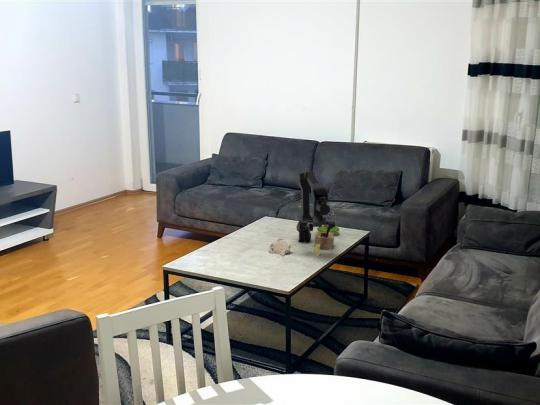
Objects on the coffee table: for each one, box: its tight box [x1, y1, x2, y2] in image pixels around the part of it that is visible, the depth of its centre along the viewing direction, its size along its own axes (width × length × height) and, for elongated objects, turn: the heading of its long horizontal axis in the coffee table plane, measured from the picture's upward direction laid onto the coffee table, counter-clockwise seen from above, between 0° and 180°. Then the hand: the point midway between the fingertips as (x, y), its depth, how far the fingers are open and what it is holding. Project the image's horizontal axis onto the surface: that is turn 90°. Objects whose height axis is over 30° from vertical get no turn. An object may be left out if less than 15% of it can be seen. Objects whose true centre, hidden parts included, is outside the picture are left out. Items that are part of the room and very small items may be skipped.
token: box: [314, 244, 321, 256], centre depth 332 cm, size 2×5×5 cm, turn 172°
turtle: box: [268, 237, 296, 257], centre depth 335 cm, size 16×10×10 cm, turn 68°
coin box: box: [314, 231, 335, 251], centre depth 344 cm, size 10×10×7 cm
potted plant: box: [316, 209, 340, 234], centre depth 367 cm, size 14×13×15 cm
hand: (317, 237), depth 331 cm, fingers open, 9 cm apart
